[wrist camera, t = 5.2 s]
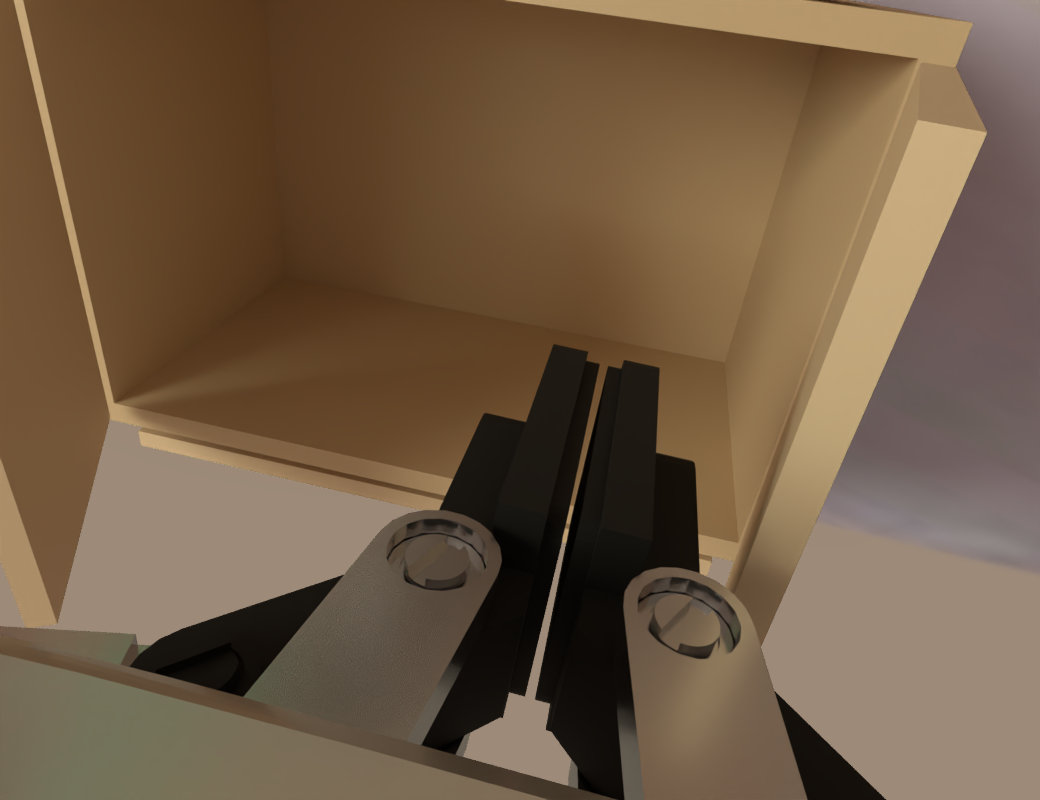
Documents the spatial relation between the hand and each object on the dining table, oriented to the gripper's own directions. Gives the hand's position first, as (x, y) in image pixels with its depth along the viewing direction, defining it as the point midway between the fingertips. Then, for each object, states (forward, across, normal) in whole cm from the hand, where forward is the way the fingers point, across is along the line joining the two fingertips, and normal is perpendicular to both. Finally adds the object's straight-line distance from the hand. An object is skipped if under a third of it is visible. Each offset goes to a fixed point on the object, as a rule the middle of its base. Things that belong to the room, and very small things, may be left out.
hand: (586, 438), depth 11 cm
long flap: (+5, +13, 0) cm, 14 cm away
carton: (+15, +4, 0) cm, 15 cm away
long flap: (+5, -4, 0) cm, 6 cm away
